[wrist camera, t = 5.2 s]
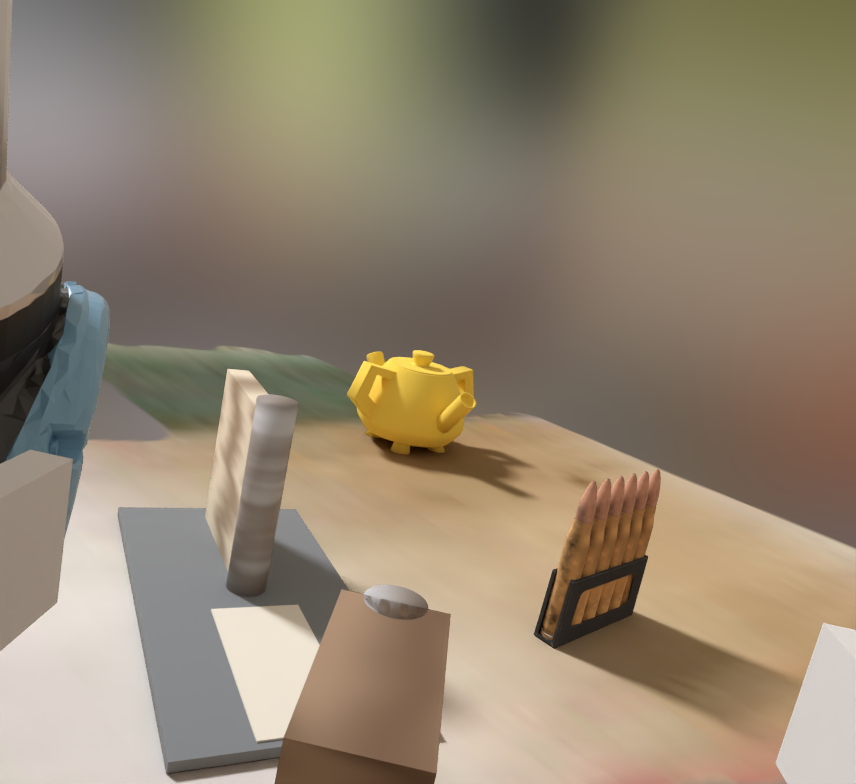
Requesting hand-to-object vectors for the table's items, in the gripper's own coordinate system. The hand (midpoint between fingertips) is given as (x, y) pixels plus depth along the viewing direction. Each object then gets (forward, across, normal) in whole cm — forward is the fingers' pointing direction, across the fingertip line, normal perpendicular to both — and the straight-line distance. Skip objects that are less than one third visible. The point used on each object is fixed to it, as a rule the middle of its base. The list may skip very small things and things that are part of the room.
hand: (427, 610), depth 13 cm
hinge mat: (+34, -10, -20) cm, 40 cm away
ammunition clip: (+42, +13, -20) cm, 48 cm away
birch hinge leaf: (+39, -13, -19) cm, 45 cm away
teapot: (+77, -4, -19) cm, 79 cm away
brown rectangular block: (+12, -1, -20) cm, 23 cm away
